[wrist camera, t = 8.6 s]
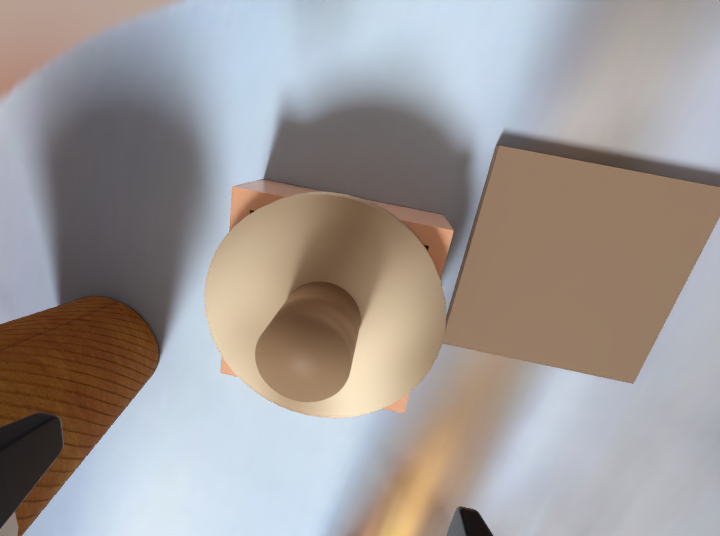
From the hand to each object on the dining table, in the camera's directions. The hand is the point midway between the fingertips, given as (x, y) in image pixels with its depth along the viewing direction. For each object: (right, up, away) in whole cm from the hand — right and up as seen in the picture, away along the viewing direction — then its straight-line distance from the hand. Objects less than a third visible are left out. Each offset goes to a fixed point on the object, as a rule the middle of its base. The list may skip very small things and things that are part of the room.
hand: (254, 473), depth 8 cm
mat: (+13, +4, +10) cm, 16 cm away
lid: (+1, +3, +8) cm, 8 cm away
